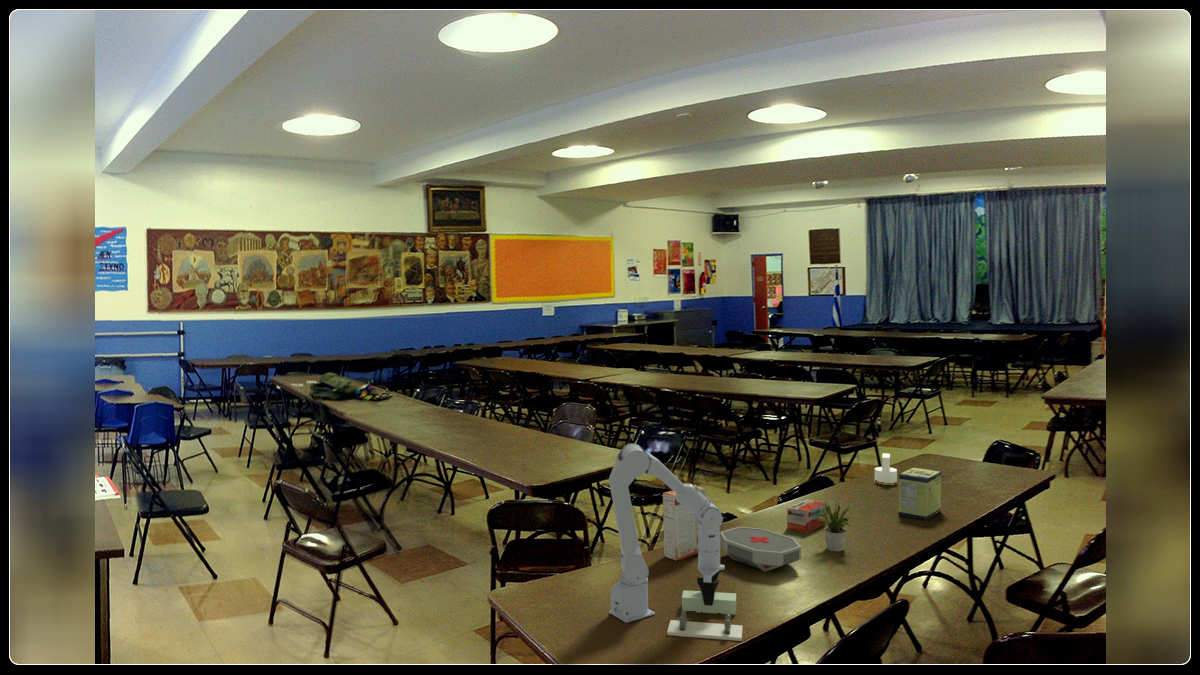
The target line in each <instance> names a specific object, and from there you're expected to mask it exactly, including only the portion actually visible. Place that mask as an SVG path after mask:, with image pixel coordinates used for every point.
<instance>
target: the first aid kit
mask: <svg viewBox="0 0 1200 675" xmlns="http://www.w3.org/2000/svg"><path fill="white" fill-rule="evenodd" d="M720 547H721V548H722V550H723V551H724V553H726V554H727V555H728V556H729V557H730V558H731V559H732V560H733V561H734V562H735V561H736V562H740V563H741V564H745V565H748V566H750V567H753V568H755V569H758V570H761V571H763V572H765V573H766V572H768V571H769V572H770V571H771V570H775V569H777V568H781V567H784V566H788V565H789V564H792V563H795V562H798V561H800V560H801V559H802V546H801V545H800V544H799V542H798V541H797V540H796V539H795V537H794V538H793V537H791V536H787V535H784V534H781V533H777V532H774V531H771V530H767V529H764V528H759V527H756V528H755V527H746V526H737V527H734V528H730V529H726V530H722V531H720Z"/></svg>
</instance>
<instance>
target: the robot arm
mask: <svg viewBox="0 0 1200 675" xmlns="http://www.w3.org/2000/svg"><path fill="white" fill-rule="evenodd" d="M614 462H615V463H614V465H613V467H612V469H611V472H610V475H609V477H608V482H609V489H610V494H611V495H610V496H611V499H612V505H613V509H614V510H613V511H614V514H615V520H616V526H617V530H618V536H619V540H620V541H619V542H620V552H621V554H620V558H619V565H620V568H621V570H622V573H621V575H620V577H619V580H618V582H617V583H615V584H612V585H611V588H610V610H609V611H608V614H611V615H612V616H613V617H615V618H617V619H618V620H621V621H622V622H624V623H630V622H633V621H637V620H641V619H644V618H646V617H651V616H653V615H655V614H656V612H655V611H653V610H651V609H649V590H648V588H649V586H648V585H649V584H648V583H649V580H648V579H649V578H648V577H649V573H650V572H649V567H648V565H647V564H646V562H645V560H644V557H643V554H642V551H641V547H640V544H639V536H638V532H637V527H636V521H635V516H634V510H633V506H632V505H633V504H632V500H631V494H630V489H629V486H630V485H631V484H632V483H633V481H634V480H635V479H636V478H638V477H640V476H641V475H643V474H644V473H645V474H646V475H647V476H656V478H658V479H659V480H660V481H661V482H663V483H664V484H665V485H666V486H667V487H669V489H671V491H674V492H676V500H677V501H678V502H679V503H680V504H681V505H682V506H683V507H685V508H686V509H687V510H688V511H689V512H690V513H691V514H692V515H693V516H696V518H697V519H699V521H700V522H699V531H698V554H697V557H698V559H697V560H698V563H697V569H698V571H699V572H700V573H701V574H702V577H697V579H696V583H697V584H698V586H699V588H700V591H701V592H702V597H703V602H704V605H708V606H712V605H713V601H714V594H715V592H716V591H717V587H718V585H719V583H720V580H719V579H718V578H719V575H720V573H721V570H722V571H723V570H724V571H725V567H726V566H725V565H724V564H721V544H720V532H721V529H720V526H722V523H723V520H724V517H723V515H722V512H721V510H720V509H719V508H718V507H717V506H716V505H715V504H714V502H713V500H712V499H711V498H709V497H706V495H705V496H704V495H703V494H702V493H700V492H699V491H698V490H699V488H698V487H699V486H698V485H696V484H692V483H684V482H682V481H681V480H680V479H679V478H678V477H677V476H676V475H675V474H674V473H673V472H672V471H671V470H670V469H669V468H667V467H666V465H664V464H663V463H662V462H661V460H659V459H658V458H657V457H655V456H654V455H652V454H651V453H650V452H648V451H647V450H644V449H643V448H642V447H641V445H639V444H637V443H628V444H626V445H624V446H623V448H622V449H621V450H620V451H619V452H618V453H617V454H616V459H615V461H614ZM693 485H694V486H693ZM697 486H698V487H697Z"/></svg>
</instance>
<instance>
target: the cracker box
mask: <svg viewBox="0 0 1200 675" xmlns="http://www.w3.org/2000/svg"><path fill="white" fill-rule="evenodd" d="M692 485H693V486H694V485H695V484H692ZM696 486H697V487H698V488H699V490H698V491H699V492H700V493H702V494H703V495H704V496H705V497H706V488H705V487H702V486H698V485H696ZM662 510H663V512H662V513H663V517H662V518H663V519H662V520H663V521H662V523H663V557H664V558H666V557H667V558H666V559H669V560H672V561H675V562H677V560H678V561H681V560H684V559H686V558H690V557H692V556H695V555H698V531H699V522H700V521H699V519H697V518H696V516H693V515H692V514H691V513H690V512H689V511H688V510H687V509H686V508H685V507H683V506H682V505H681V504H680V503H679V502H678V501H677V500H676V492H674V491H673V490H669V491H665V492H663V493H662Z"/></svg>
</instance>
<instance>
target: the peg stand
mask: <svg viewBox="0 0 1200 675" xmlns="http://www.w3.org/2000/svg"><path fill="white" fill-rule="evenodd" d="M743 628H744V627H743V625H739V624H732V614H724V623H716V622H715V623H714V622H713V623H712V622H702V621H700V622H699V621H687V612H686V611H682V610H681V611H680V615H679V620H675V619H670V622H669V625H668V628H667V630H666V631H667V632H666V634H667V636H673V635H674V637H675V636H676V637H677V636H678V637H689V638H701V639H713V640H726V641H735V642H737V641H738V642H742V641H743V640H742V639H743Z"/></svg>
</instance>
